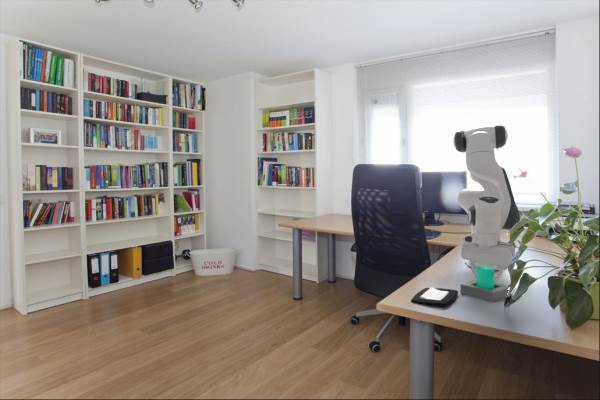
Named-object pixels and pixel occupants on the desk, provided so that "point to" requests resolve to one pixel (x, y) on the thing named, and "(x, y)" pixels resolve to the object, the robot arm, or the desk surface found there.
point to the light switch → (435, 296)
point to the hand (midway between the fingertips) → (486, 274)
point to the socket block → (484, 291)
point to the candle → (485, 277)
